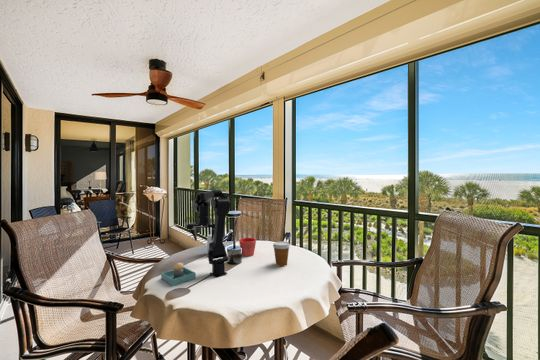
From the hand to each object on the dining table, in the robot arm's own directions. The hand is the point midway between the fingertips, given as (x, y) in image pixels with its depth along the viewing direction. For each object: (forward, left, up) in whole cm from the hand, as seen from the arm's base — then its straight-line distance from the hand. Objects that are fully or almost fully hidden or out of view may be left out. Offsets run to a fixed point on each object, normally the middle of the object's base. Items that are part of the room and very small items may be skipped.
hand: (204, 240), depth 144 cm
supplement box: (+10, -14, -13) cm, 22 cm away
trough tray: (-11, +21, -13) cm, 27 cm away
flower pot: (-6, -28, -13) cm, 32 cm away
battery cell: (-11, +21, -12) cm, 27 cm away
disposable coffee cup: (-34, -29, -13) cm, 47 cm away
